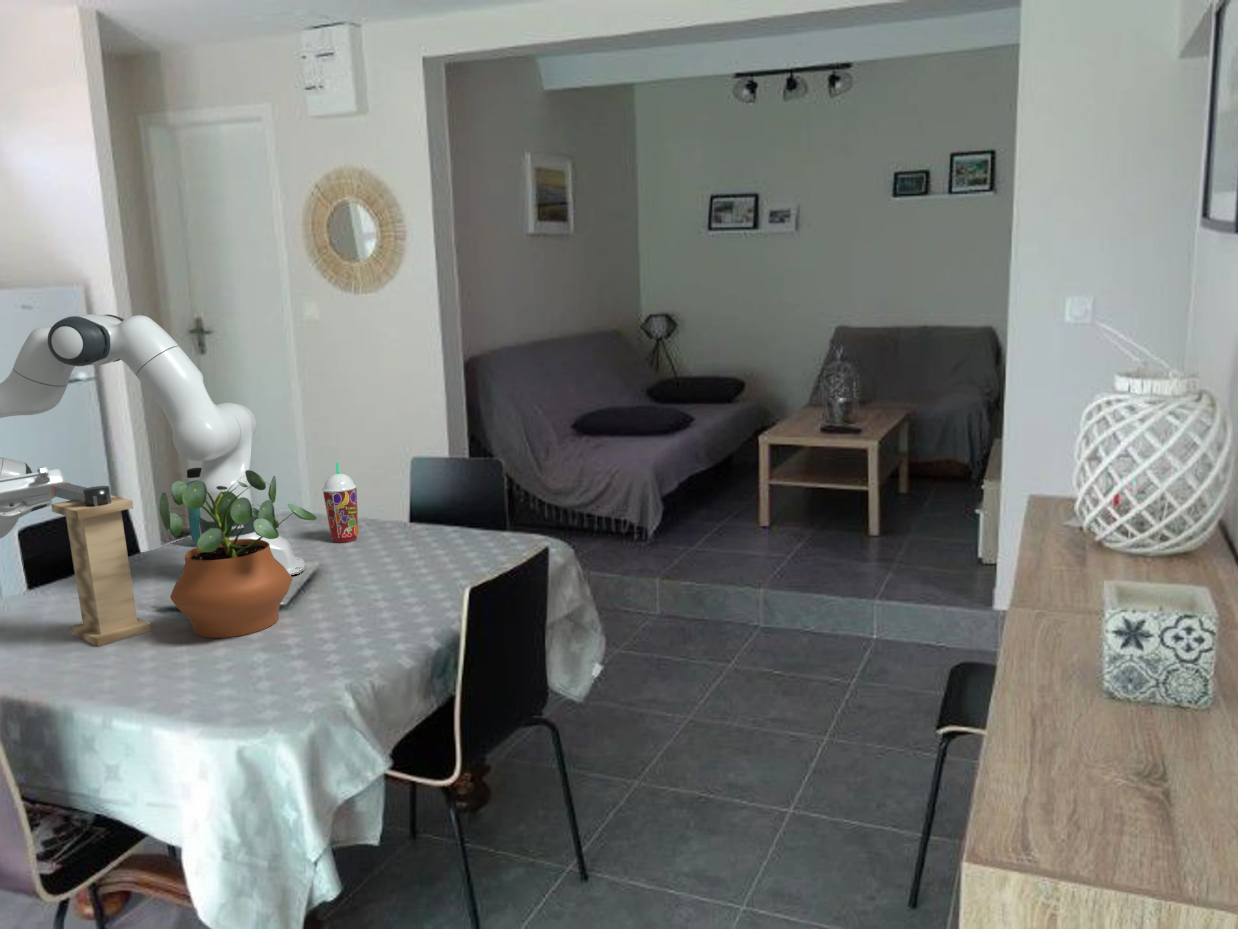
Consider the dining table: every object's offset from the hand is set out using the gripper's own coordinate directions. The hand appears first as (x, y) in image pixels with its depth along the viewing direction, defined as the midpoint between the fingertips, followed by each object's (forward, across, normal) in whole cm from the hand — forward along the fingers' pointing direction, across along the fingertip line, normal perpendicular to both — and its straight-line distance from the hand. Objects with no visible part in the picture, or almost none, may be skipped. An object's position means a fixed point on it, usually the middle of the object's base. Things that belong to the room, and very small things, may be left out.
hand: (19, 474), depth 213 cm
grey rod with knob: (+21, +2, +15) cm, 26 cm away
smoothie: (-5, +68, +30) cm, 75 cm away
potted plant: (+28, +21, +50) cm, 61 cm away
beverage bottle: (-31, +46, +16) cm, 58 cm away
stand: (+12, +2, +40) cm, 42 cm away
